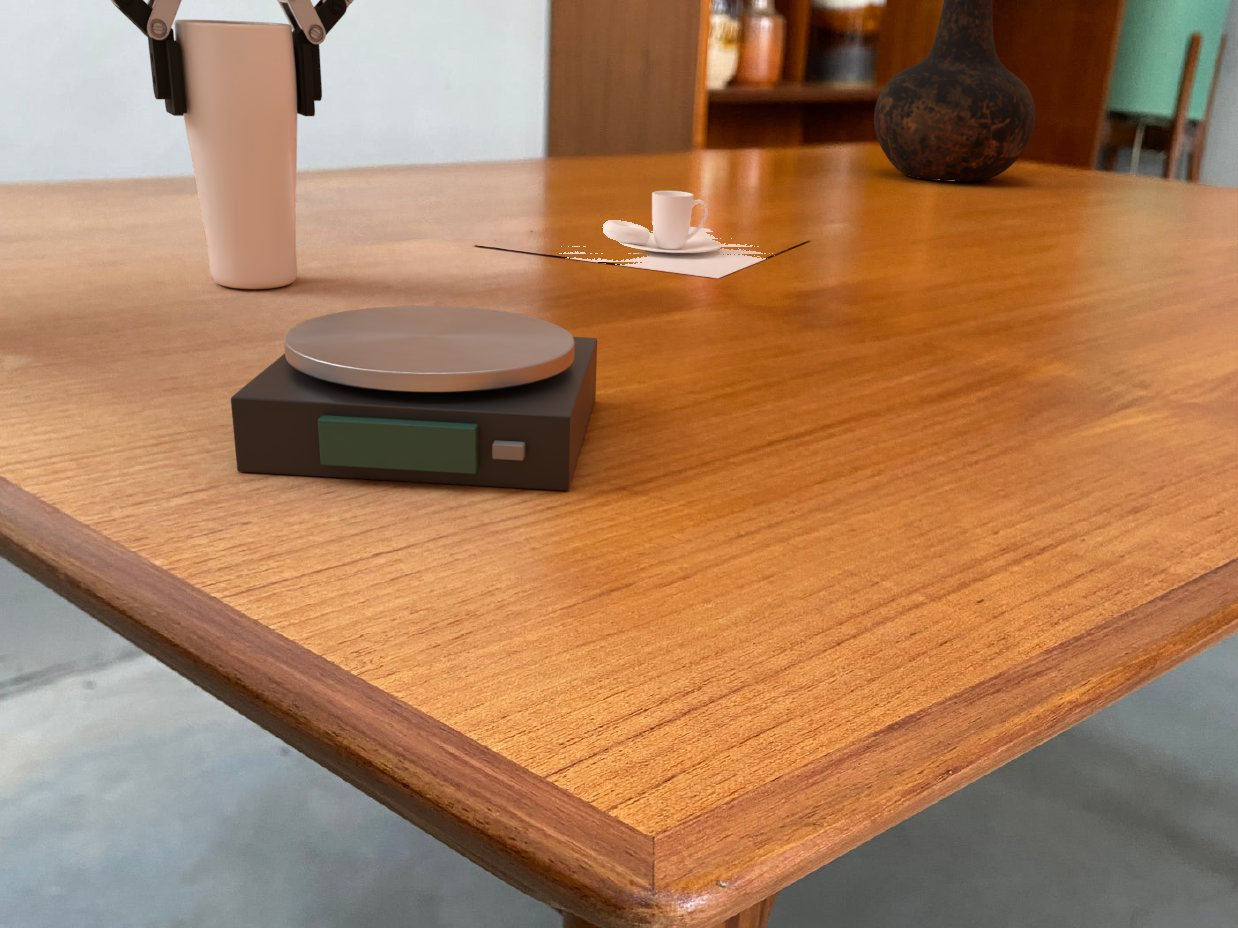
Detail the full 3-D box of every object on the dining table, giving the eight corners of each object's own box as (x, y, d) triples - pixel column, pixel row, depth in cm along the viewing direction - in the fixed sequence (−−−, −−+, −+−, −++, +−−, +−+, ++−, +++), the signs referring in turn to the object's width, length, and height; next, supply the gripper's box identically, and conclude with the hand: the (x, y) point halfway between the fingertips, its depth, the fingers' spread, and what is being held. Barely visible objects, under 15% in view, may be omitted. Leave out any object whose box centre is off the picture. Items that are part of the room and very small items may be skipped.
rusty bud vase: (1032, 177, 158) (1075, -90, 146) (1015, 193, 143) (1062, -103, 131) (884, 164, 164) (914, -93, 151) (853, 179, 148) (884, -107, 136)
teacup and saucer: (590, 249, 100) (591, 192, 98) (635, 235, 106) (637, 182, 105) (696, 262, 97) (700, 204, 95) (736, 248, 103) (740, 193, 101)
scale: (231, 477, 51) (224, 401, 50) (324, 385, 63) (321, 322, 62) (567, 497, 51) (568, 421, 49) (595, 400, 63) (597, 337, 62)
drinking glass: (191, 293, 80) (163, 20, 74) (206, 271, 86) (181, 18, 80) (306, 294, 81) (288, 26, 75) (312, 273, 87) (297, 23, 81)
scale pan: (245, 383, 51) (244, 363, 50) (328, 316, 61) (327, 298, 61) (558, 401, 50) (559, 381, 50) (586, 330, 61) (586, 313, 61)
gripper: (350, -214, 78) (364, 109, 86) (32, -249, 71) (78, 107, 79) (388, -228, 72) (400, 120, 80) (46, -268, 65) (95, 119, 73)
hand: (240, 111), depth 79 cm, fingers closed on drinking glass, 6 cm apart
